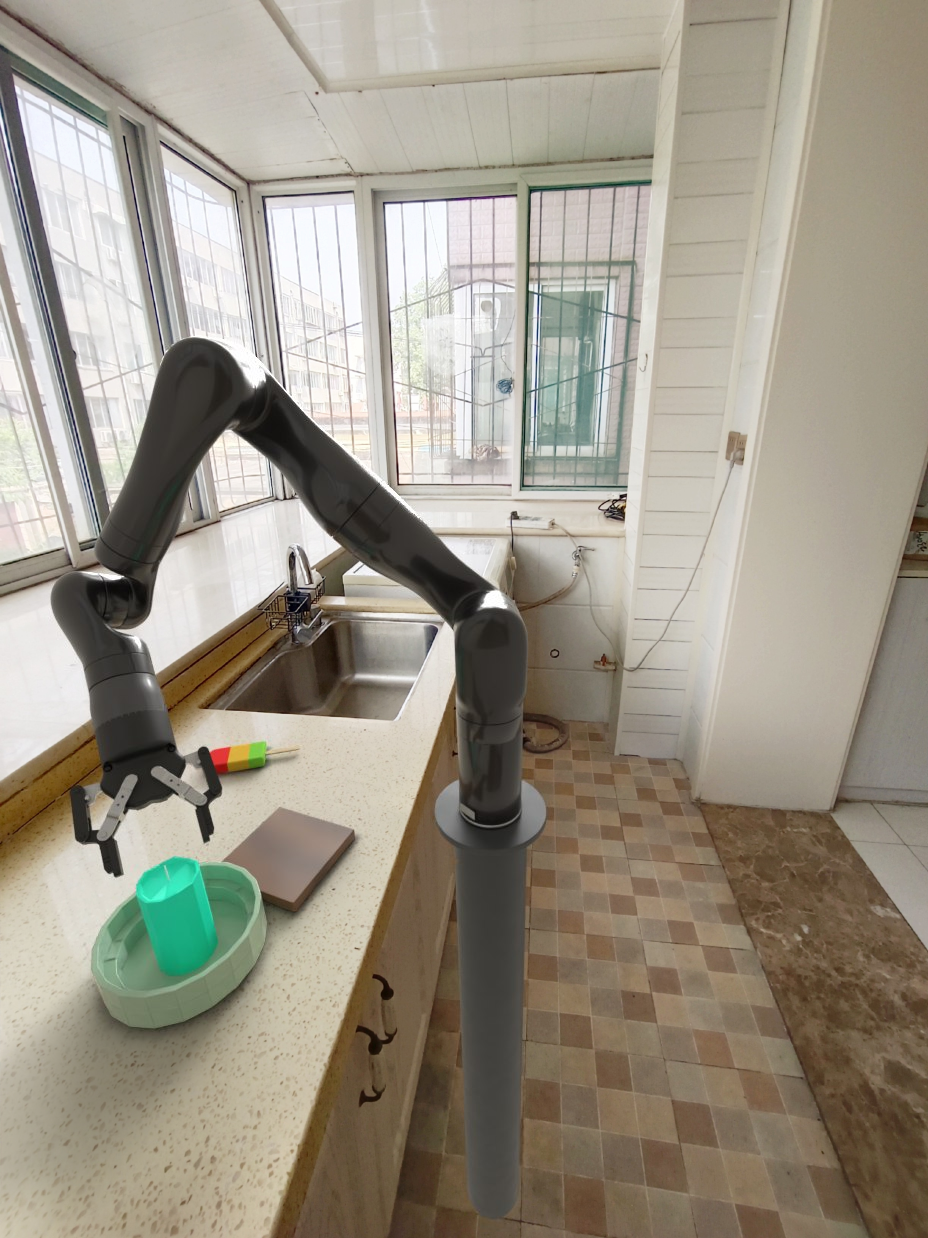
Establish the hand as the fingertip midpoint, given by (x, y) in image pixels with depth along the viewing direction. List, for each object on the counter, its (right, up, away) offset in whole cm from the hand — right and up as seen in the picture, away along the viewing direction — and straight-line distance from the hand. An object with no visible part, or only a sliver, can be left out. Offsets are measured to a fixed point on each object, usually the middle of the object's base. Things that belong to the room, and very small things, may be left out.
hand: (164, 858), depth 59 cm
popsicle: (-4, +2, +35) cm, 35 cm away
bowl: (+2, -11, +1) cm, 11 cm away
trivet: (+9, -6, +14) cm, 17 cm away
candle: (+2, -11, +1) cm, 11 cm away
